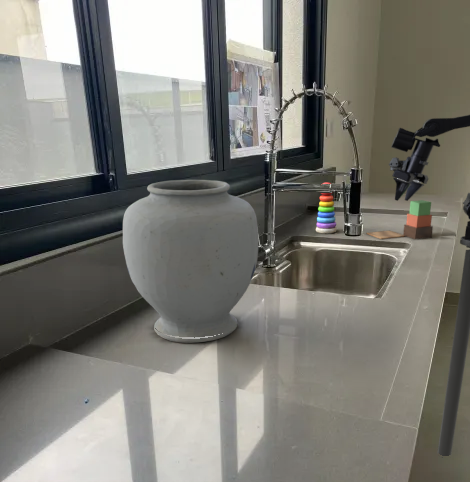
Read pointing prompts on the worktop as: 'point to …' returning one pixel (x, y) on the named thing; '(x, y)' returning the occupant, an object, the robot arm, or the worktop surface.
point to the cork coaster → (385, 234)
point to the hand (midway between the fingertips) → (401, 200)
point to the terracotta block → (419, 220)
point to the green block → (420, 208)
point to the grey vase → (191, 255)
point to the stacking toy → (326, 214)
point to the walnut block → (418, 232)
